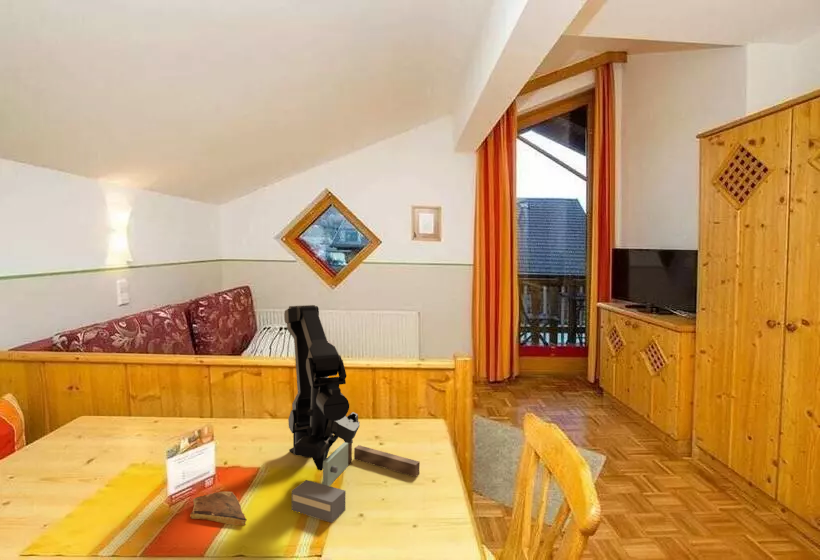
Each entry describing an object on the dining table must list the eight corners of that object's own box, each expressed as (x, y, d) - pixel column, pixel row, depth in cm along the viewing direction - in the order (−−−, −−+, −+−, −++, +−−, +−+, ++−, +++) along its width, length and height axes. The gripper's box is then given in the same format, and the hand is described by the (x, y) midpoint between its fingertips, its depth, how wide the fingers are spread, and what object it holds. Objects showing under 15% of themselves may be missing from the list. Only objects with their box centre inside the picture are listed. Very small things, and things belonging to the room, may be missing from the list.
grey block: (291, 511, 98) (291, 491, 97) (306, 499, 102) (306, 479, 102) (331, 524, 94) (331, 502, 93) (345, 511, 98) (345, 490, 98)
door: (343, 465, 118) (343, 442, 117) (352, 466, 117) (352, 443, 117) (322, 486, 107) (323, 461, 107) (332, 488, 107) (332, 463, 106)
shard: (246, 528, 92) (246, 518, 92) (195, 543, 87) (195, 532, 87) (233, 497, 103) (233, 487, 103) (187, 508, 98) (187, 498, 98)
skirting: (354, 459, 121) (354, 447, 121) (358, 456, 123) (358, 445, 123) (415, 477, 113) (415, 465, 112) (419, 473, 114) (419, 461, 114)
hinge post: (342, 463, 119) (343, 440, 118) (347, 460, 120) (347, 437, 120) (349, 465, 118) (349, 442, 117) (354, 462, 120) (354, 439, 119)
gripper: (343, 424, 98) (340, 495, 100) (367, 396, 117) (364, 456, 118) (293, 417, 100) (291, 487, 102) (325, 391, 119) (322, 450, 120)
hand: (320, 469), depth 110 cm, fingers closed
